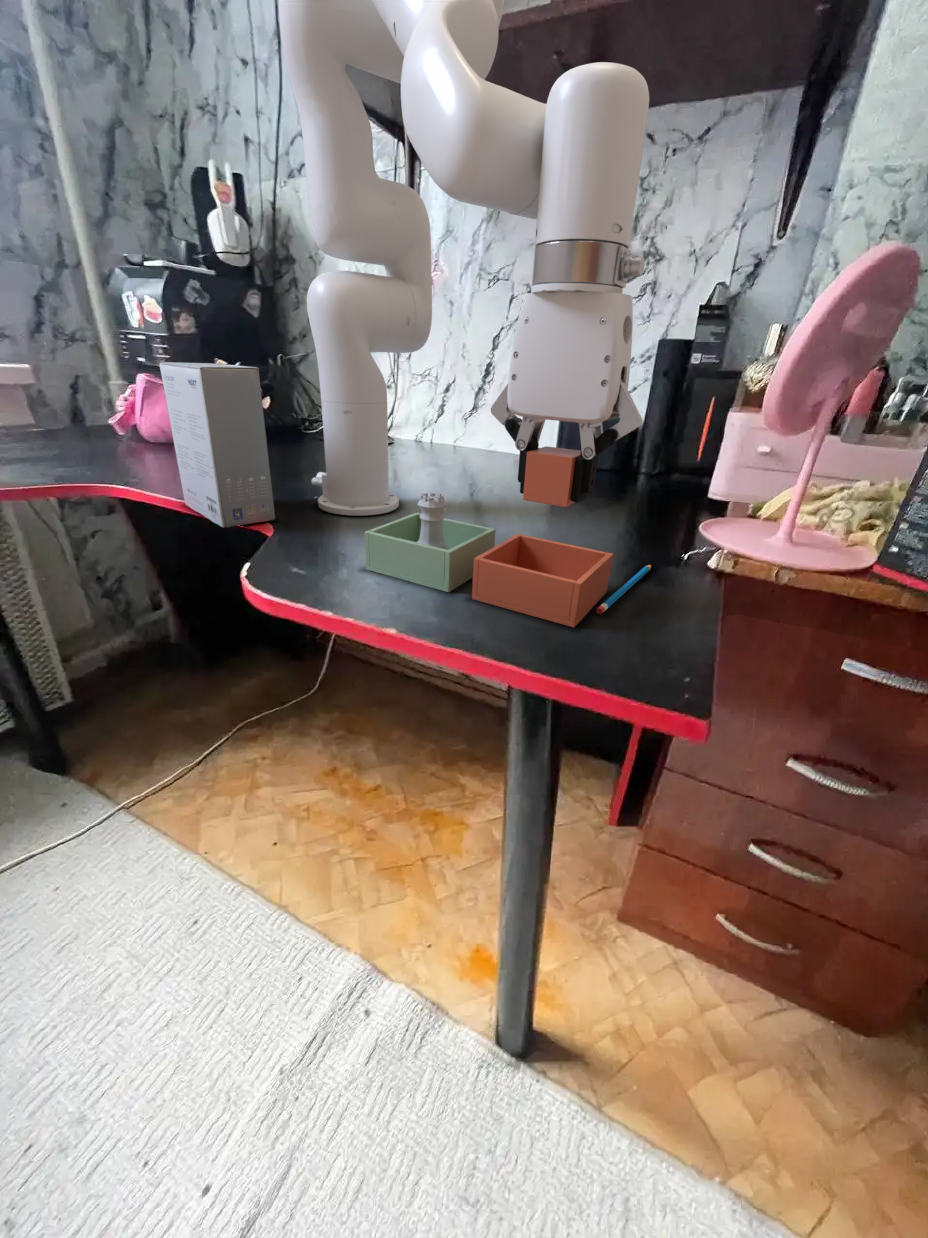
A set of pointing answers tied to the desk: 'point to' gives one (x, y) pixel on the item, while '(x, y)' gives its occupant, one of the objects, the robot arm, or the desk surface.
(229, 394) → the hard drive box
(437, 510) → the rook chess piece
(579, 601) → the terracotta bin
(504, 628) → the desk surface
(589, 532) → the desk surface
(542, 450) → the terracotta block
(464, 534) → the sage bin
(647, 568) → the pencil
